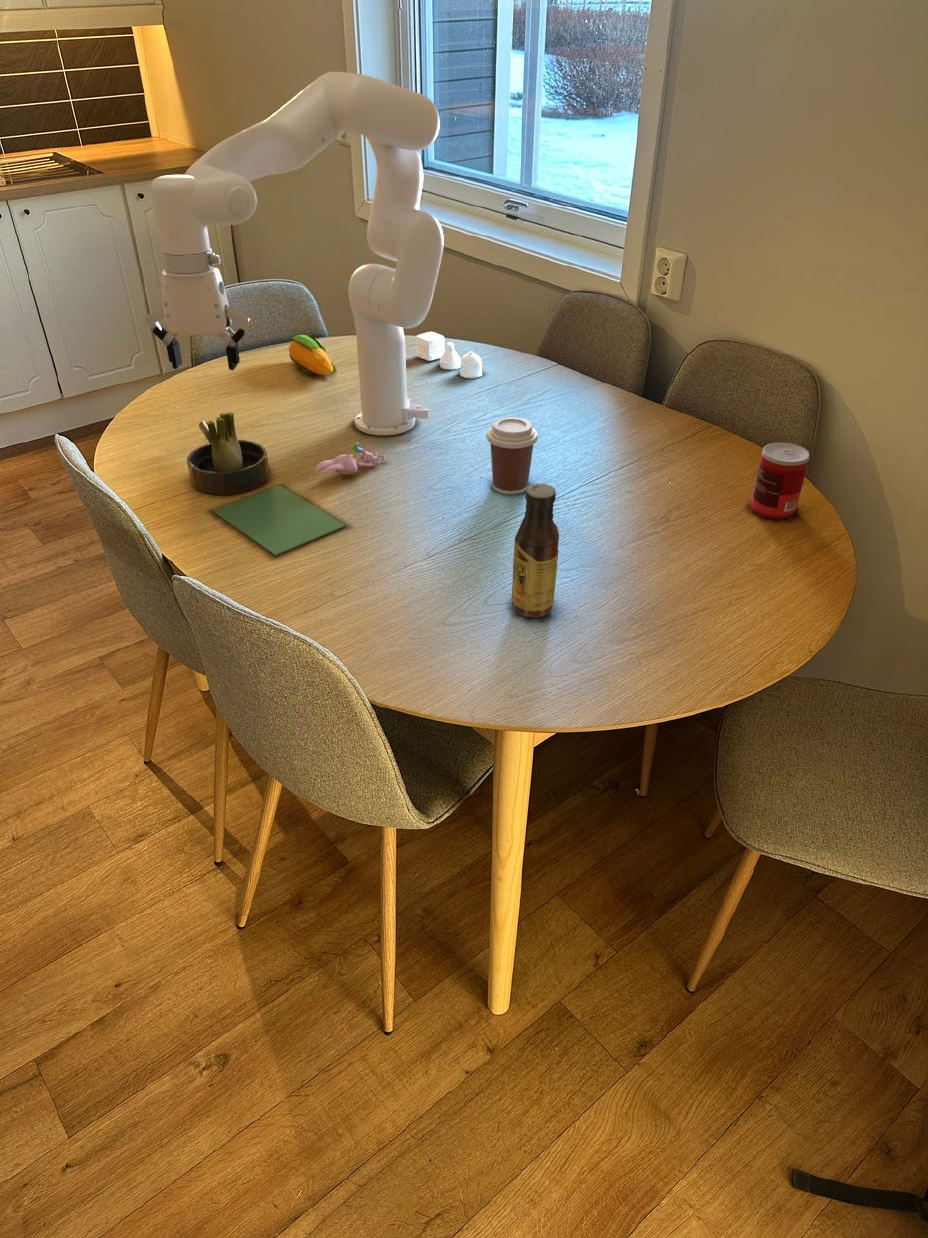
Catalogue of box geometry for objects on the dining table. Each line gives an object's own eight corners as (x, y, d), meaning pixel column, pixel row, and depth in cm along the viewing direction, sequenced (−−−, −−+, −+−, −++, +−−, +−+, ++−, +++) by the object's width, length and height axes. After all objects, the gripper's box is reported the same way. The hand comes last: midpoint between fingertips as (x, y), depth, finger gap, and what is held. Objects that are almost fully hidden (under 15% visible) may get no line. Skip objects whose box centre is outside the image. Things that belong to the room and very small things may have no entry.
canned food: (796, 502, 156) (810, 445, 149) (794, 523, 150) (809, 465, 143) (751, 495, 158) (764, 439, 151) (748, 516, 152) (761, 458, 145)
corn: (307, 324, 212) (344, 348, 198) (312, 355, 216) (348, 380, 203) (278, 332, 209) (314, 356, 195) (284, 363, 213) (320, 388, 200)
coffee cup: (542, 480, 162) (546, 419, 155) (524, 501, 156) (527, 439, 149) (497, 471, 165) (498, 410, 158) (477, 491, 159) (478, 429, 152)
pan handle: (223, 449, 166) (222, 441, 165) (214, 451, 166) (212, 443, 165) (207, 427, 175) (206, 418, 174) (198, 429, 174) (196, 420, 173)
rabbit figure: (368, 462, 171) (306, 475, 161) (370, 432, 168) (307, 444, 158) (389, 472, 168) (328, 486, 158) (392, 442, 165) (330, 455, 155)
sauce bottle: (508, 597, 131) (513, 477, 120) (549, 595, 132) (558, 475, 120) (514, 622, 126) (520, 500, 114) (557, 620, 126) (567, 498, 115)
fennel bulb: (218, 484, 160) (207, 423, 153) (211, 473, 163) (200, 413, 156) (249, 478, 162) (240, 416, 155) (242, 467, 165) (232, 407, 158)
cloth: (345, 526, 148) (345, 525, 148) (275, 556, 141) (275, 554, 140) (280, 486, 160) (280, 485, 160) (212, 511, 152) (211, 510, 152)
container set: (415, 357, 216) (415, 335, 213) (432, 352, 219) (431, 330, 215) (470, 379, 204) (470, 356, 200) (486, 374, 206) (487, 351, 203)
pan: (276, 461, 168) (273, 440, 166) (260, 496, 157) (256, 474, 154) (203, 460, 169) (199, 438, 166) (181, 495, 157) (177, 472, 155)
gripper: (247, 257, 143) (260, 360, 153) (142, 255, 143) (162, 358, 153) (235, 269, 137) (250, 375, 147) (126, 266, 137) (148, 373, 147)
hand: (205, 366), depth 150 cm, fingers open, 9 cm apart
